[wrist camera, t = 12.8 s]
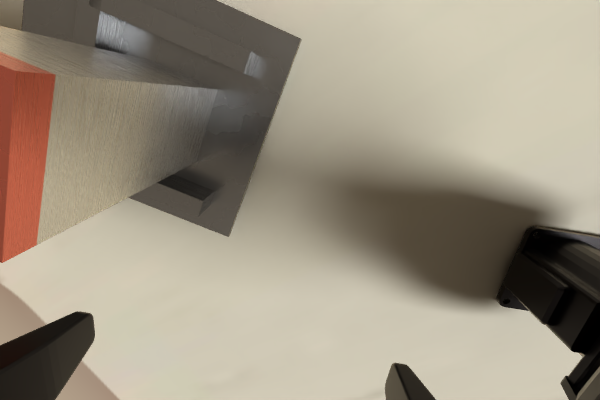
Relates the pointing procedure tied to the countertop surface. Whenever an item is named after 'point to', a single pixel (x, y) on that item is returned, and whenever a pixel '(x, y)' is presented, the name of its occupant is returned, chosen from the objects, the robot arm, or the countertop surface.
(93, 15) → the plate
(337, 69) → the countertop surface
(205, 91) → the block
